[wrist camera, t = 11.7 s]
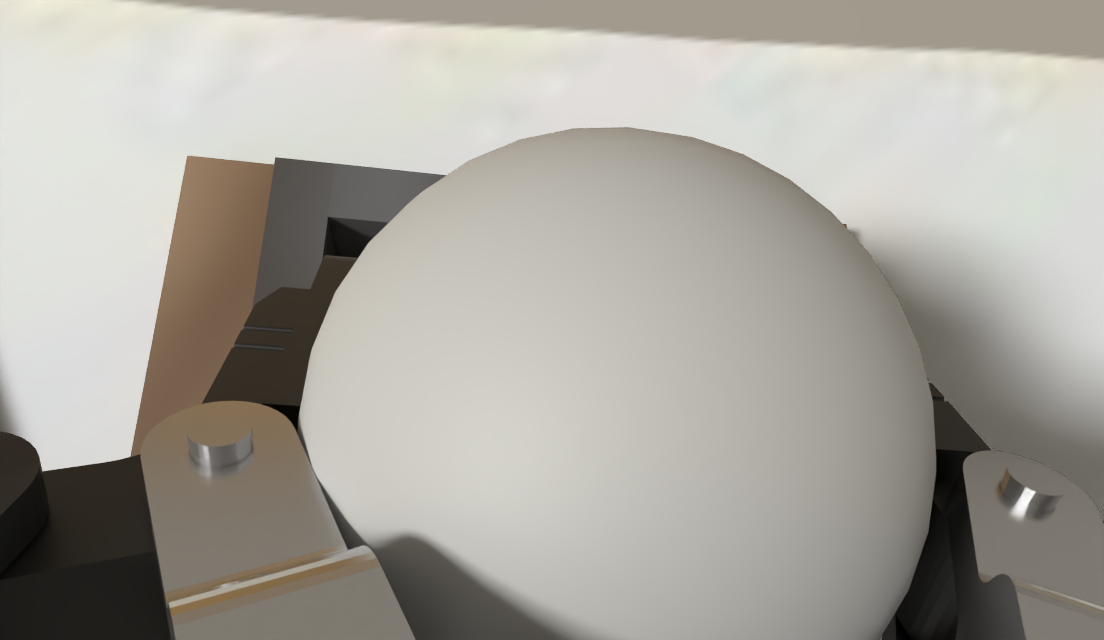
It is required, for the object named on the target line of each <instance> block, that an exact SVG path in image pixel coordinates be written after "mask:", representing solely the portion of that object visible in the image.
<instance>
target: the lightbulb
mask: <svg viewBox="0 0 1104 640" xmlns="http://www.w3.org/2000/svg"><path fill="white" fill-rule="evenodd" d="M298 437H299V439H300V441H301V444H302V446H303V448H304V451H305V453H306V455H307V457H308V460H309V462H310V464H311V467H312V469H313V471H314V474H315V476H316V478H317V480H318V483H319V485H320V487H321V490H322V492H323V494H324V497H325V499H326V501H327V503H328V506H329V508H330V510H331V513H332V515H333V517H334V520H335V522H336V524H337V526H338V529H339V531H340V533H341V536H342V538H343V540H344V543H345V545H346V547H347V549H352V548H355V547H359V546H364V545H365V546H367V547H369V548H370V549H371V550H372V551H373V553H374V554H375V556H376V557H377V559H378V561H379V563H380V565H381V567H382V569H383V571H384V573H385V576H386V578H387V580H388V582H389V584H390V586H391V588H392V590H393V593H394V595H395V597H396V599H397V601H398V603H399V605H400V607H401V610H402V612H403V614H404V616H405V618H406V620H407V622H408V625H409V627H410V629H411V631H412V633H413V635H414V637H415V639H416V640H880V638H881V636H882V635H883V633H884V631H885V629H886V628H887V626H888V624H889V623H890V621H891V619H892V618H893V616H894V614H895V612H896V611H897V609H898V607H899V606H900V604H901V602H902V601H903V599H904V597H905V595H906V594H907V592H908V590H909V588H910V585H911V582H912V579H913V576H914V573H915V570H916V567H917V564H918V561H919V558H920V555H921V552H922V549H923V546H924V543H925V540H926V537H927V535H928V531H929V523H930V515H931V508H932V500H933V493H934V485H935V477H936V447H935V429H934V411H933V400H932V396H931V392H930V388H929V384H928V380H927V375H926V371H925V367H924V363H923V359H922V355H921V351H920V347H919V345H918V343H917V340H916V338H915V336H914V333H913V331H912V329H911V326H910V324H909V322H908V320H907V317H906V315H905V313H904V310H903V308H902V306H901V303H900V301H899V299H898V297H897V295H896V294H895V292H894V291H893V289H892V288H891V286H890V285H889V283H888V282H887V280H886V279H885V277H884V275H883V274H882V272H881V271H880V269H879V268H878V266H877V265H876V263H875V262H874V260H873V259H872V257H871V256H870V254H869V253H868V251H867V250H866V249H865V248H864V247H863V246H862V245H861V244H860V243H859V241H858V240H857V239H856V238H855V237H854V236H853V235H852V234H851V233H850V232H849V231H848V230H847V228H846V227H845V226H844V225H843V224H842V223H841V222H840V221H839V220H838V219H837V218H836V217H835V215H834V214H833V213H832V212H831V211H829V210H828V209H827V208H825V207H824V206H823V205H822V204H820V203H819V202H818V201H816V200H815V199H814V198H813V197H811V196H810V195H809V194H807V193H806V192H805V191H804V190H802V189H801V188H800V187H798V186H797V185H796V184H795V183H793V182H792V181H791V180H789V179H788V178H786V177H784V176H782V175H780V174H778V173H777V172H775V171H773V170H771V169H769V168H767V167H765V166H764V165H762V164H760V163H758V162H756V161H754V160H753V159H751V158H749V157H747V156H745V155H743V154H741V153H738V152H735V151H732V150H729V149H726V148H723V147H720V146H717V145H714V144H711V143H708V142H705V141H702V140H699V139H696V138H693V137H687V136H681V135H675V134H668V133H662V132H656V131H649V130H643V129H636V128H629V127H626V128H578V129H570V130H565V131H560V132H555V133H550V134H545V135H540V136H535V137H531V138H526V139H521V140H518V141H516V142H513V143H511V144H508V145H506V146H504V147H501V148H499V149H496V150H494V151H491V152H489V153H487V154H484V155H482V156H479V157H477V158H474V159H472V160H469V161H468V162H466V163H465V164H463V165H462V166H460V167H459V168H457V169H456V170H454V171H453V172H451V173H450V174H448V175H447V176H445V177H444V178H442V179H441V180H439V181H437V182H436V183H434V184H433V185H431V186H430V187H428V188H427V189H425V190H424V191H422V192H421V193H420V194H419V195H418V196H416V197H415V198H414V199H413V200H412V201H411V202H409V203H408V204H407V205H406V206H405V207H404V208H403V209H402V210H401V211H400V212H399V213H398V214H397V215H396V216H395V217H394V218H393V219H392V220H391V221H390V222H389V223H388V224H387V225H386V226H385V227H384V228H383V229H382V230H381V231H380V232H379V233H378V234H377V235H376V236H375V237H374V238H373V239H372V240H371V241H370V242H369V243H368V244H367V246H366V247H365V249H364V250H363V252H362V253H361V255H360V256H359V258H358V259H357V261H356V262H355V264H354V265H353V267H352V268H351V270H350V271H349V273H348V274H347V276H346V277H345V278H344V280H343V281H342V283H341V284H340V286H339V287H338V289H337V290H336V292H335V294H334V296H333V299H332V301H331V304H330V306H329V309H328V311H327V313H326V316H325V318H324V321H323V323H322V325H321V328H320V330H319V333H318V335H317V338H316V340H315V342H314V345H313V347H312V350H311V355H310V359H309V364H308V370H307V375H306V380H305V385H304V391H303V396H302V401H301V407H300V412H299V417H298Z"/></svg>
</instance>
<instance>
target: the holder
mask: <svg viewBox="0 0 1104 640" xmlns="http://www.w3.org/2000/svg"><path fill="white" fill-rule="evenodd" d="M445 176H447V175H438V174H428V173H419V172H409V171H400V170H390V169H381V168H371V167H362V166H352V165H343V164H333V163H324V162H314V161H305V160H295V159H286V158H275V164H274V165H272V164H262V163H253V162H243V161H234V160H224V159H214V158H205V157H195V156H187V160H186V166H185V171H184V176H183V182H182V187H181V192H180V198H179V203H178V208H177V213H176V219H175V224H174V229H173V235H172V240H171V245H170V250H169V256H168V261H167V266H166V272H165V277H164V282H163V288H162V293H161V298H160V303H159V309H158V314H157V319H156V325H155V330H154V335H153V340H152V346H151V351H150V356H149V362H148V367H147V372H146V377H145V383H144V388H143V393H142V399H141V404H140V409H139V415H138V420H137V425H136V430H135V436H134V441H133V446H132V452H131V457H132V456H136V455H139V454H140V450H141V446H142V443H143V441H144V439H145V437H146V436H147V434H148V433H149V432H150V431H151V430H152V429H153V427H154V426H156V425H157V424H158V423H160V422H161V421H162V420H164V419H165V418H167V417H169V416H171V415H172V414H174V413H177V412H179V411H181V410H184V409H186V408H190V407H193V406H196V405H200V404H202V402H203V400H204V398H205V397H206V395H207V393H208V391H209V389H210V387H211V385H212V384H213V382H214V380H215V378H216V376H217V374H218V372H219V371H220V369H221V367H222V365H223V363H224V361H225V359H226V358H227V356H228V354H229V352H230V350H231V348H234V343H235V341H236V339H237V337H238V335H239V333H240V331H241V330H242V329H244V324H245V322H246V320H247V318H248V317H249V315H250V313H251V311H252V309H253V307H254V305H255V304H256V303H257V302H259V301H260V300H262V299H263V298H265V297H266V296H268V295H270V294H271V293H273V292H274V291H276V290H277V289H279V288H280V287H290V288H302V289H310V288H311V286H312V284H313V281H314V279H315V277H316V274H317V272H318V269H319V267H320V265H321V262H322V260H323V258H324V256H325V255H330V256H341V257H352V258H359V256H360V255H361V253H362V252H363V250H364V249H365V247H366V246H367V244H368V243H369V242H370V241H371V240H372V239H373V238H374V237H375V236H376V235H377V234H378V233H379V232H380V231H381V230H382V229H383V228H384V227H385V226H386V225H387V224H388V223H389V222H390V221H391V220H392V219H393V218H394V217H395V216H396V215H397V214H398V213H399V212H400V211H401V210H402V209H403V208H404V207H405V206H406V205H407V204H408V203H409V202H411V201H412V200H413V199H414V198H415V197H416V196H418V195H419V194H420V193H421V192H422V191H424V190H425V189H427V188H428V187H430V186H431V185H433V184H434V183H436V182H437V181H439V180H441V179H442V178H444V177H445ZM843 225H844V226H845V227H846V228H847V226H846V224H843Z"/></svg>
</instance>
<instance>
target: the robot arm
mask: <svg viewBox="0 0 1104 640" xmlns="http://www.w3.org/2000/svg"><path fill="white" fill-rule="evenodd" d="M357 259H358V258H352V257H341V256H330V255H325V256H324V258H323V260H322V262H321V265H320V267H319V269H318V272H317V274H316V277H315V279H314V281H313V284H312V286H311V288H310V289H302V288H290V287H280V288H279V289H277V290H276V291H274V292H273V293H271V294H270V295H268V296H266V297H265V298H263V299H262V300H260V301H259V302H257V303H256V304H255V305H254V307H253V309H252V311H251V313H250V315H249V317H248V318H247V320H246V322H245V324H244V329H242V330H241V331H240V333H239V335H238V337H237V339H236V341H235V343H234V348H231V350H230V352H229V354H228V356H227V358H226V359H225V361H224V363H223V365H222V367H221V369H220V371H219V372H218V374H217V376H216V378H215V380H214V382H213V384H212V385H211V387H210V389H209V391H208V393H207V395H206V397H205V398H204V400H203V402H202V404H200V405H196V406H193V407H190V408H186V409H184V410H181V411H179V412H177V413H174V414H172V415H171V416H169V417H167V418H165V419H164V420H162V421H161V422H160V423H158V424H157V425H156V426H154V427H153V429H152V430H151V431H150V432H149V433H148V434H147V436H146V437H145V439H144V441H143V443H142V446H141V450H140V454H139V455H136V456H132V457H129V458H125V459H121V460H116V461H111V462H105V463H99V464H92V465H85V466H78V467H71V468H64V469H57V470H50V471H43V472H42V468H41V463H40V458H39V455H38V453H37V451H36V449H35V448H34V447H33V446H32V445H31V443H29V442H28V441H26V440H25V439H23V438H21V437H19V436H16V435H14V434H10V433H6V432H1V431H0V640H416V639H415V637H414V635H413V633H412V631H411V629H410V627H409V625H408V622H407V620H406V618H405V616H404V614H403V612H402V610H401V607H400V605H399V603H398V601H397V599H396V597H395V595H394V593H393V590H392V588H391V586H390V584H389V582H388V580H387V578H386V576H385V573H384V571H383V569H382V567H381V565H380V563H379V561H378V559H377V557H376V556H375V554H374V553H373V551H372V550H371V549H370V548H369V547H367V546H365V545H364V546H359V547H355V548H352V549H347V547H346V545H345V543H344V540H343V538H342V536H341V533H340V531H339V529H338V526H337V524H336V522H335V520H334V517H333V515H332V513H331V510H330V508H329V506H328V503H327V501H326V499H325V497H324V494H323V492H322V490H321V487H320V485H319V483H318V480H317V478H316V476H315V474H314V471H313V469H312V467H311V464H310V462H309V460H308V457H307V455H306V453H305V451H304V448H303V446H302V444H301V441H300V439H299V437H298V417H299V412H300V407H301V401H302V396H303V391H304V385H305V380H306V375H307V370H308V364H309V359H310V355H311V350H312V347H313V345H314V342H315V340H316V338H317V335H318V333H319V330H320V328H321V325H322V323H323V321H324V318H325V316H326V313H327V311H328V309H329V306H330V304H331V301H332V299H333V296H334V294H335V292H336V290H337V289H338V287H339V286H340V284H341V283H342V281H343V280H344V278H345V277H346V276H347V274H348V273H349V271H350V270H351V268H352V267H353V265H354V264H355V262H356V261H357ZM927 380H928V378H927ZM928 384H929V388H930V392H931V396H932V400H933V411H934V429H935V447H936V477H935V485H934V493H933V500H932V508H931V515H930V523H929V531H928V535H927V537H926V540H925V543H924V546H923V549H922V552H921V555H920V558H919V561H918V564H917V567H916V570H915V573H914V576H913V579H912V582H911V585H910V588H909V590H908V592H907V594H906V595H905V597H904V599H903V601H902V602H901V604H900V606H899V607H898V609H897V611H896V612H895V614H894V616H893V618H892V619H891V621H890V623H889V624H888V626H887V628H886V629H885V631H884V633H883V635H882V640H1104V521H1103V520H1102V518H1101V515H1100V512H1099V510H1098V508H1097V506H1096V504H1095V503H1094V502H1093V500H1092V499H1091V498H1090V497H1089V496H1088V495H1087V494H1086V493H1085V491H1084V490H1082V489H1081V488H1080V487H1079V486H1078V485H1076V484H1075V483H1074V482H1073V481H1071V480H1070V479H1068V478H1067V477H1065V476H1064V475H1062V474H1060V473H1059V472H1057V471H1055V470H1054V469H1052V468H1050V467H1048V466H1046V465H1044V464H1041V463H1039V462H1037V461H1034V460H1032V459H1029V458H1026V457H1023V456H1020V455H1016V454H1012V453H1008V452H1002V451H991V449H990V448H989V447H988V446H987V445H986V444H985V443H984V442H983V440H982V439H981V438H980V437H979V436H978V435H977V434H976V433H975V431H974V430H973V429H972V428H971V427H970V426H969V425H968V424H967V422H966V421H965V420H964V419H963V418H962V417H961V416H960V414H959V413H958V412H957V411H956V410H955V409H954V408H953V407H952V405H951V404H950V403H949V402H945V401H944V396H943V395H942V394H941V393H940V392H939V391H938V390H937V389H936V387H935V386H934V385H933V384H931V383H928Z"/></svg>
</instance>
